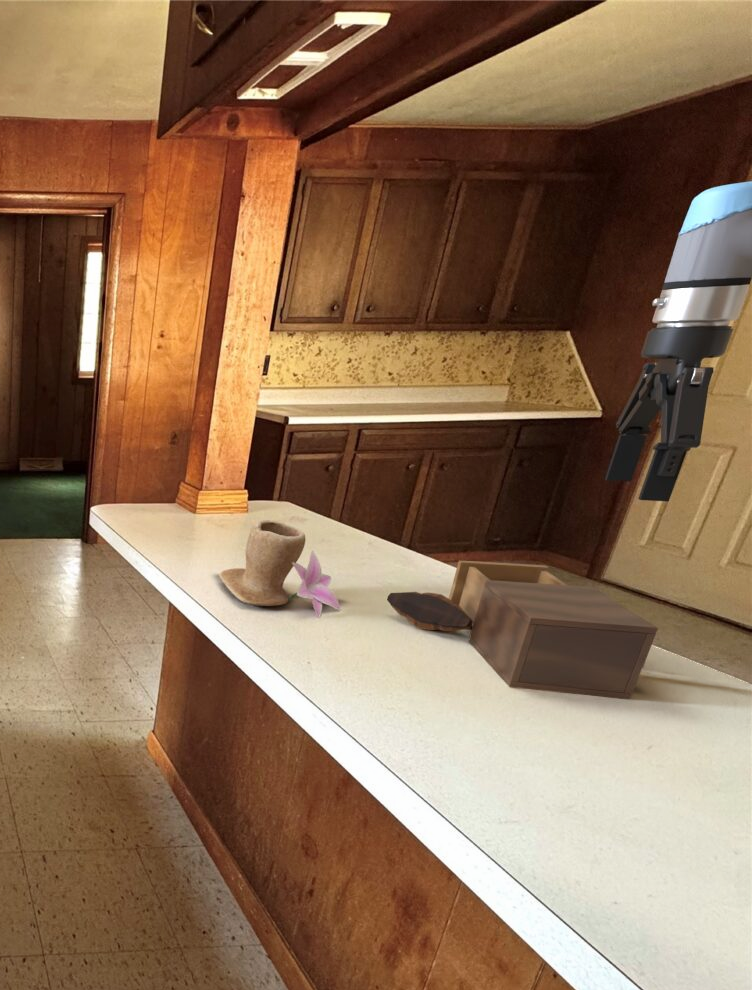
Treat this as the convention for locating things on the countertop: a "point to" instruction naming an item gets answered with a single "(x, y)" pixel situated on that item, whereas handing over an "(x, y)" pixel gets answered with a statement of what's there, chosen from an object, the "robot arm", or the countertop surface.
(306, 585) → the lily
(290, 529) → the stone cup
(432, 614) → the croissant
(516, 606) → the cabinet
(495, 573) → the drawer
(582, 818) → the countertop surface
